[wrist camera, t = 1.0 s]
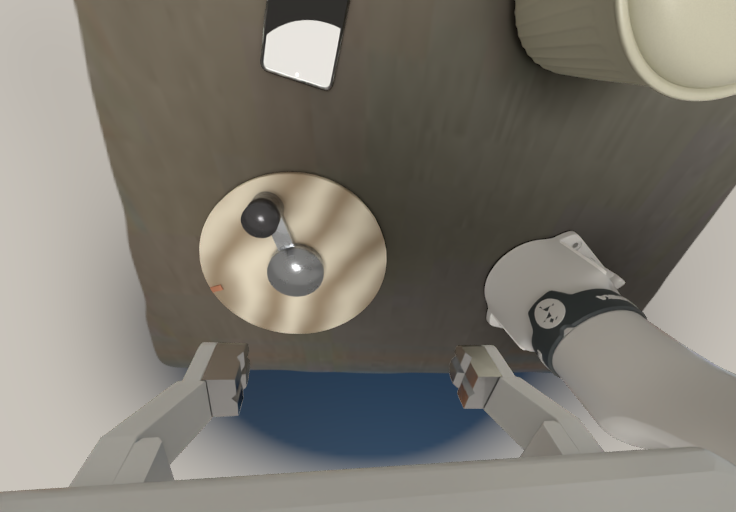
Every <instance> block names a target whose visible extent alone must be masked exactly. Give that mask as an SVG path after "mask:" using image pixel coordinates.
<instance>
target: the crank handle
mask: <svg viewBox="0 0 736 512" xmlns="http://www.w3.org/2000/svg"><path fill="white" fill-rule="evenodd" d="M283 212H284V205H283V202H282V200H281V199H280V198H279V197H278V196H277V195H276V194H274V193H272V192H266V191H265V192H260V193H258V194H256V195H255V196H254V197H253V199H252V200H251V201H250V203H249V204H248V206H247V207H246V208H245V210H244V211H243V213H242V215H241V225H242V227H243V229H244V230H245V231H246V232H247V233H248V234H249V235H251V236H253V237H256V238H267V237H270V236H272V238H273V240H274V242H275V244H276V246H277V248H278V249H277V250H276V251H275V252H274V253H273V255H272V257H271V259H270V262H269V265H268V268H267V277H268V280H269V282H270V284H271V285H272V286H273V287H274V288H275V289H276V290H277V291H278V292H280V293H282V294H284V295H287V296H293V297H300V296H306V295H309V294H311V293H313V292H314V291H315V290H317V289H318V288H319V286H320V285H321V283H322V281H323V277H324V263H323V260H322V258H321V256H320V254H319V253H318V252H317V251H316V250H314V249H313V248H312V247H310V246H307V245H304V244H299V243H295V242H294V239H293V237H292V235H291V232H290V230H289V228H288V225H287V223H286V221H285V218H284V216H283Z"/></svg>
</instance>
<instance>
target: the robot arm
mask: <svg viewBox="0 0 736 512" xmlns="http://www.w3.org/2000/svg"><path fill="white" fill-rule="evenodd" d="M573 244H574V245H573ZM624 284H625V281H624V280H623V279H622V278H620V277H619V276H618V275H616V274H615V273H613V272H611V271H610V270H608V269H607V268H605V267H604V266H603V265H602V263H601V262H600V261H599V260H598V258H597V257H596V256H595V255H594V253H593V252H592V251H591V250H590V248H589V247H588V246H587V245H586V243H585V242H584V241H583V240H582V238H581V237H580V236H579V235H578V234H577V233H575V232H574V231H568V232H565V233H563V234H560V235H558V236H556V237H554V238H550V239H542V240H535V241H531V242H528V243H525V244H522V245H520V246H518V247H516V248H514V249H513V250H511V251H510V252H508V253H507V254H506V255H504V256H503V257H502V258H501V259H500V260H499V261H498V262H497V263H496V265H495V266H494V267H493V268H492V270H491V272H490V273H489V275H488V278H487V280H486V284H485V291H484V292H485V299H486V302H487V305H488V311H487V316H486V319H487V321H488V323H489V324H490V325H492V326H495V327H500V328H503V329H504V330H505V331H506V332H507V333H508V334H509V336H510V337H511V338H512V339H513V340H514V342H515V343H516V344H517V345H518V346H519V347H520V348H521V349H522V350H528V351H531V352H535V353H536V354H537V355H538V356H539V358H540V360H541V361H542V363H543V364H544V365H545V366H546V367H547V368H548V369H549V370H550V371H551V372H552V373H553V374H554V375H556V376H557V377H559V378H561V379H562V380H563V381H564V383H565V384H566V385H567V386H568V388H569V389H570V390H571V391H572V393H573V394H574V395H575V396H576V397H577V399H578V400H579V401H580V402H581V404H582V405H583V406H584V407H585V409H586V410H587V411H588V412H589V414H590V415H591V416H592V417H593V419H594V420H595V421H596V422H597V424H598V425H599V426H600V427H601V428H602V429H603V430H604V431H605V432H606V433H608V434H609V435H611V436H612V437H614V438H616V439H618V440H620V441H622V442H624V443H627V444H629V445H632V446H636V447H640V448H645V450H631V451H616V452H604V450H603V449H602V448H601V447H600V445H599V444H598V443H597V441H596V440H595V439H594V438H593V436H592V435H591V433H590V432H589V431H588V430H587V428H586V427H585V426H584V425H583V423H582V422H581V421H580V419H579V418H577V417H576V416H574V415H573V414H571V413H570V412H568V411H567V410H566V409H564V408H563V407H561V406H560V405H559V404H557V403H556V402H554V401H553V400H551V399H550V398H548V397H547V396H546V395H544V394H542V393H541V392H540V391H538V390H537V389H536V388H534V387H533V386H531V385H530V384H528V383H527V382H525V381H524V380H523V379H521V378H520V377H515V375H514V374H513V372H512V371H511V369H510V368H509V366H508V365H507V363H506V362H505V360H504V359H503V357H502V356H501V354H500V353H499V351H498V350H497V348H496V347H495V346H493V345H458V346H457V347H456V349H455V351H454V352H455V354H456V356H455V357H454V358H453V359H452V360H451V362H450V365H449V373H450V378H451V380H452V383H453V384H454V385H455V386H456V387H458V392H457V394H458V397H459V399H460V401H461V403H462V406H463V408H464V409H467V408H468V409H472V408H474V409H476V408H477V409H479V408H481V409H482V408H484V410H485V411H486V412H487V413H488V414H489V415H490V416H491V417H492V418H493V419H494V420H495V421H496V422H497V423H498V424H499V425H500V426H501V427H502V428H503V429H504V430H505V431H506V432H507V433H508V435H510V437H511V438H513V439H514V440H515V441H516V443H517V444H519V445H520V446H521V447H522V448H523V450H524V451H523V453H522V454H521V456H520V457H519V458H510V459H495V460H494V459H493V460H478V461H463V462H449V463H432V464H418V465H402V466H387V467H372V468H357V469H342V470H327V471H313V472H297V473H281V474H266V475H252V476H236V477H220V478H205V479H190V480H174V478H173V475H172V471H171V468H170V464H171V463H172V462H173V461H174V460H175V458H176V457H177V456H178V455H179V454H180V453H181V452H182V451H183V450H184V449H185V447H186V446H187V445H188V444H189V443H190V442H191V441H192V440H193V439H194V438H195V437H196V435H197V434H198V433H199V432H200V431H201V430H202V429H203V428H204V427H205V426H206V424H207V423H208V422H209V421H210V420H211V419H212V417H224V416H238V415H239V412H240V408H241V405H242V401H243V389H244V388H245V387H246V386H247V382H248V377H249V371H250V360H249V359H248V358H247V356H248V352H249V347H248V344H247V343H221V342H218V343H212V342H203V343H202V344H201V345H200V346H199V348H198V350H197V352H196V354H195V356H194V358H193V360H192V362H191V364H190V366H189V368H188V370H187V372H186V374H185V376H184V378H183V380H182V381H177V382H175V383H174V384H173V385H172V386H170V387H169V388H167V389H166V390H165V391H163V392H162V393H161V394H160V395H158V396H157V397H155V398H154V399H152V400H151V401H150V402H148V403H147V404H146V405H144V406H143V407H142V408H140V409H139V410H138V411H136V412H135V413H134V414H132V415H131V416H130V417H128V418H127V419H125V420H124V421H123V422H121V423H120V424H119V425H117V426H116V427H115V428H113V429H112V430H111V431H109V432H108V433H107V434H105V435H104V436H102V437H101V438H100V440H99V441H98V443H97V444H96V446H95V447H94V449H93V450H92V452H91V453H90V455H89V457H88V458H87V459H86V461H85V463H84V464H83V466H82V467H81V469H80V470H79V472H78V473H77V475H76V476H75V478H74V479H73V481H72V483H71V484H70V486H69V487H68V488H51V489H36V490H21V491H6V492H0V512H736V374H734V373H732V372H730V371H727V370H725V369H723V368H721V367H719V366H717V365H715V364H714V363H712V362H710V361H708V360H707V359H705V358H703V357H702V356H700V355H699V354H697V353H696V352H694V351H692V350H691V349H689V348H688V347H686V346H685V345H683V344H681V343H680V342H678V341H677V340H675V339H674V338H672V337H671V336H669V335H668V334H667V333H665V332H663V331H662V330H661V329H659V328H658V327H656V326H655V325H653V324H652V323H651V322H649V321H648V320H647V318H646V316H645V314H644V313H643V312H642V311H641V310H639V309H638V308H637V306H636V305H634V304H633V303H632V302H630V301H629V300H628V299H626V298H623V297H622V296H621V295H620V293H619V292H618V290H617V289H618V288H620V287H621V286H622V285H624Z"/></svg>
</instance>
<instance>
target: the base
mask: <svg viewBox="0 0 736 512" xmlns="http://www.w3.org/2000/svg"><path fill="white" fill-rule="evenodd" d="M265 191H266V192H272V193H274V194H276V195H277V196H278V197H279V198H280V199H281V200H282V202H283V205H284V212H283V216H284V218H285V221H286V223H287V225H288V228H289V230H290V232H291V235H292V237H293V239H294V242H295V243H299V244H304V245H307V246H310V247H312V248H313V249H314V250H316V251H317V252H318V253H319V254H320V256H321V258H322V260H323V263H324V277H323V281H322V283H321V285H320V286H319V288H318V289H317V290H315V291H314V292H313V293H311V294H309V295H306V296H300V297H293V296H287V295H284V294H282V293H280V292H278V291H277V290H276V289H275V288H274V287H273V286H272V285H271V284H270V282H269V280H268V277H267V268H268V265H269V262H270V259H271V257H272V255H273V253H274V252H275V251H276V250H277V249H278V248H277V246H276V244H275V242H274V240H273V238H272V236H270V237H267V238H256V237H253V236H251V235H249V234H248V233H247V232H246V231H245V230H244V229H243V227H242V225H241V215H242V213H243V211H244V210H245V208H246V207H247V206H248V204H249V203H250V201H251V200H252V199H253V197H254V196H255V195H256V194H258V193H260V192H265ZM199 252H200V262H201V267H202V271H203V273H204V276H205V278H206V281H207V283H208V284H209V286H210V289H211V290H212V292H214V294H215V295H216V296H217V298H218V299H219V300H220V301H221V302H222V303H223V304H224V305H225V306H226V307H227V308H228V309H229V310H231V311H232V312H233V313H234V314H236V315H237V316H239V317H240V318H242V319H244V320H246V321H247V322H249V323H251V324H254V325H256V326H259V327H261V328H264V329H268V330H271V331H276V332H281V333H291V334H306V333H315V332H320V331H324V330H328V329H331V328H334V327H337V326H339V325H341V324H343V323H345V322H347V321H349V320H350V319H352V318H354V317H355V316H356V315H358V314H359V313H360V312H362V311H363V310H364V309H365V308H366V307H367V306H368V305H369V303H370V302H371V301H372V300H373V299H374V297H375V295H376V294H377V292H378V291H379V289H380V286H381V284H382V282H383V278H384V275H385V271H386V263H387V258H386V247H385V241H384V238H383V235H382V232H381V230H380V227H379V225H378V223H377V221H376V219H375V217H374V215H373V214H372V213H371V211H370V210H369V208H368V207H367V206H366V205H365V204H364V203H363V202H362V201H361V199H359V198H358V197H357V196H356V195H355V194H353V193H352V192H351V191H350V190H348V189H346V188H345V187H343V186H342V185H340V184H338V183H336V182H334V181H332V180H329V179H327V178H324V177H321V176H317V175H314V174H308V173H303V172H277V173H271V174H266V175H261V176H259V177H256V178H253V179H250V180H248V181H246V182H244V183H243V184H241V185H239V186H237V187H236V188H235V189H233V190H232V191H231V192H229V193H228V194H227V195H226V196H225V197H224V198H223V199H222V200H221V201H220V202H219V203H218V204H217V205H216V206H215V207H214V209H213V210H212V212H211V213H210V215H209V216H208V218H207V220H206V222H205V224H204V227H203V230H202V234H201V237H200V247H199Z"/></svg>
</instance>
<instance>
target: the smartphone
mask: <svg viewBox="0 0 736 512" xmlns="http://www.w3.org/2000/svg"><path fill="white" fill-rule="evenodd" d="M349 4H350V0H267V2H266V9H265V16H264V25H263V40H262V49H261V59H260V63H261V67H262V68H263V69H264V70H265V71H266V72H269V73H272V74H275V75H278V76H281V77H284V78H287V79H290V80H293V81H296V82H300V83H303V84H306V85H309V86H312V87H315V88H318V89H321V90H325V91H328V90H330V89H331V88H332V86H333V83H334V78H335V73H336V68H337V63H338V58H339V53H340V48H341V43H342V38H343V33H344V29H345V24H346V19H347V14H348V9H349Z"/></svg>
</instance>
